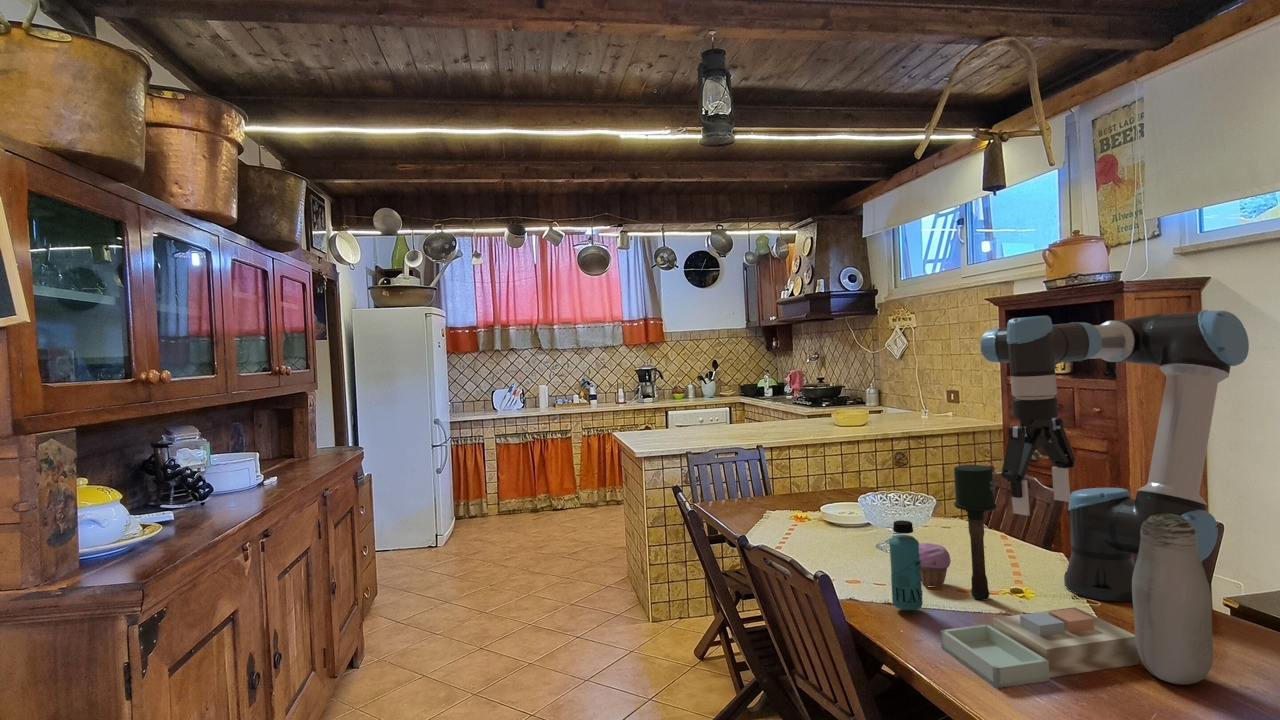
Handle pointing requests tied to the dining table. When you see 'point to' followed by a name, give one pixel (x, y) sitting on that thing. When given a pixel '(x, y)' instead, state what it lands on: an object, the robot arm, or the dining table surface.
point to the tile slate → (1042, 624)
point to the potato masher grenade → (975, 516)
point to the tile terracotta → (1073, 620)
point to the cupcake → (933, 564)
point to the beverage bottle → (905, 568)
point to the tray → (995, 656)
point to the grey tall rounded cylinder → (1172, 602)
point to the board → (1075, 645)
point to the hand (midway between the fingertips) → (1042, 507)
